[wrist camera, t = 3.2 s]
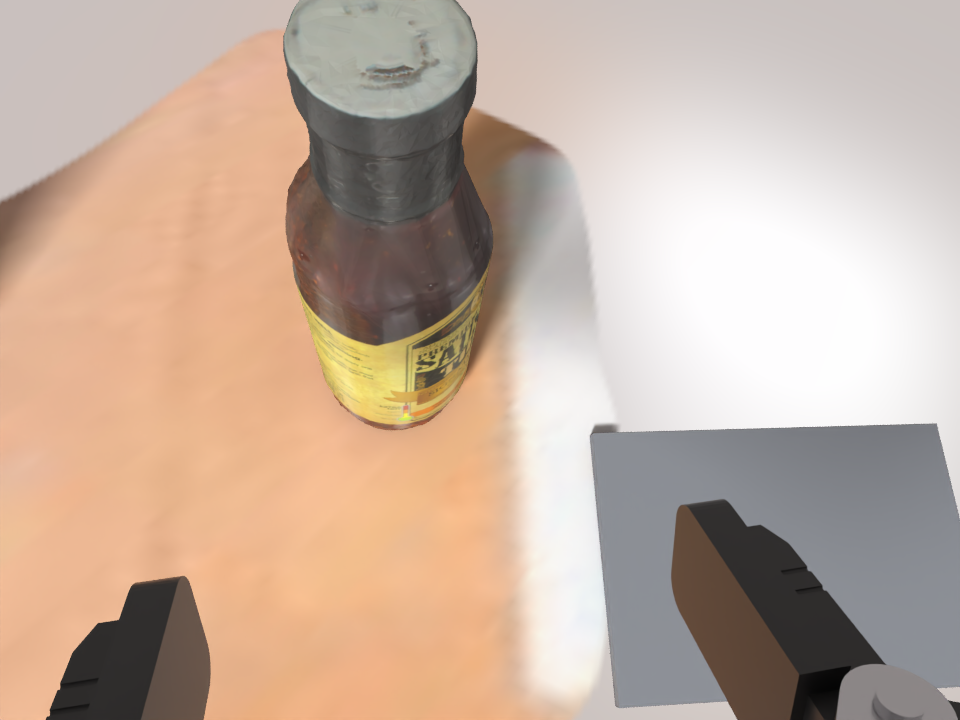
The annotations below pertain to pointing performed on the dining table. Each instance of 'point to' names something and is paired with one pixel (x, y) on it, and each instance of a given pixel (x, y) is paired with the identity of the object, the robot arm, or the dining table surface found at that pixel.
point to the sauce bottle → (387, 202)
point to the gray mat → (796, 519)
